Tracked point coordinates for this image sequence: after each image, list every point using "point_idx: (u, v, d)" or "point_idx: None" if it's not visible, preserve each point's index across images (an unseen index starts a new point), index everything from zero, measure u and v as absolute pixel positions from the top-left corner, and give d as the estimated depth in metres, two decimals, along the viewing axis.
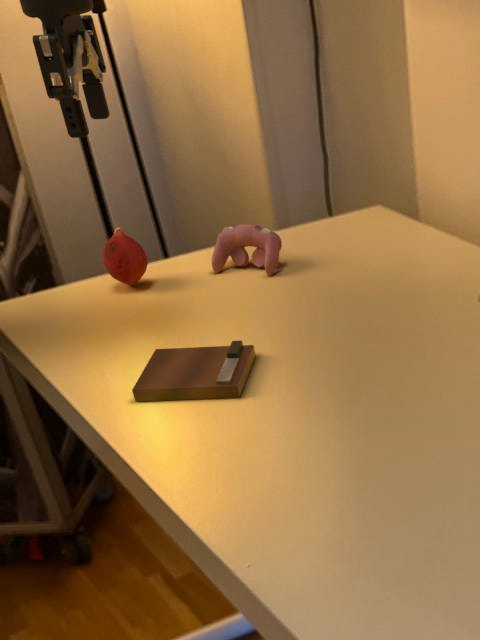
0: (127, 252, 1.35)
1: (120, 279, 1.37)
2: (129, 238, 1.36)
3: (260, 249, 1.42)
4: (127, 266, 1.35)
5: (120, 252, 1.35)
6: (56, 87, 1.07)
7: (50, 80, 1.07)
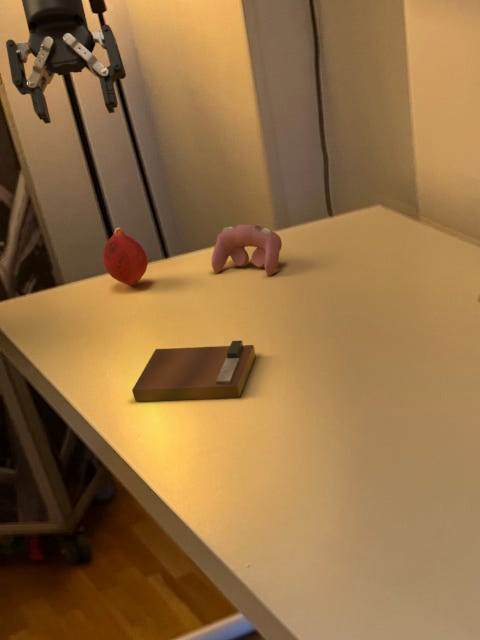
0: (127, 252, 1.35)
1: (120, 279, 1.37)
2: (129, 238, 1.36)
3: (260, 249, 1.42)
4: (127, 266, 1.35)
5: (120, 252, 1.35)
6: None
7: None
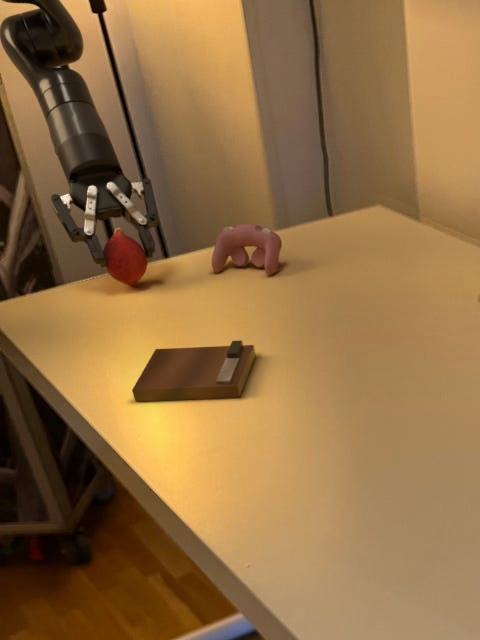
0: (127, 252, 1.35)
1: (120, 279, 1.37)
2: (129, 238, 1.36)
3: (260, 249, 1.42)
4: (127, 266, 1.35)
5: (120, 252, 1.35)
6: None
7: None
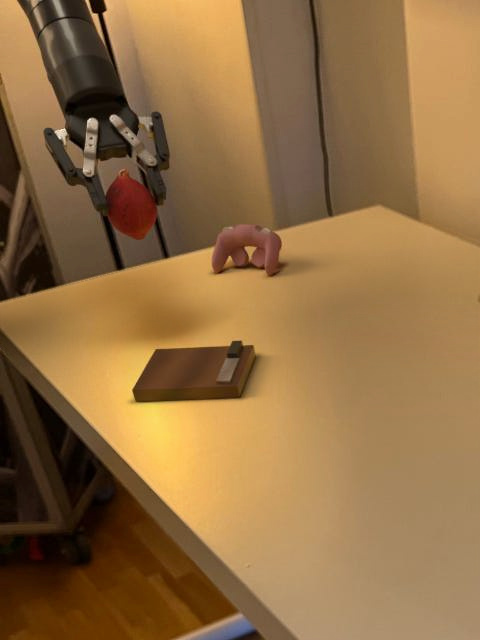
0: (134, 198, 1.14)
1: (125, 231, 1.16)
2: (136, 182, 1.15)
3: (260, 249, 1.42)
4: (134, 214, 1.15)
5: (126, 197, 1.14)
6: None
7: None
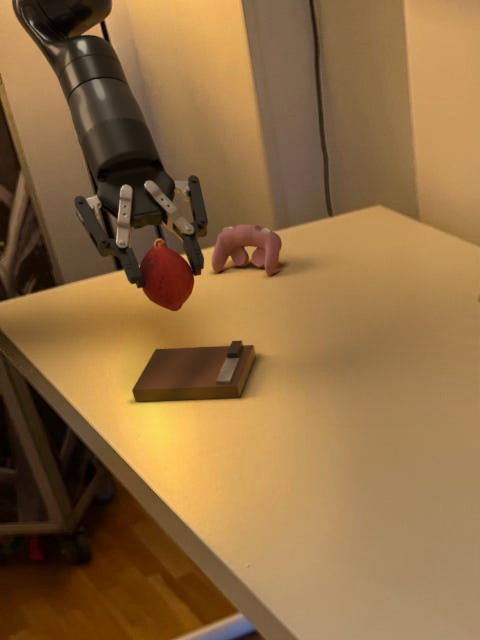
0: (170, 269, 1.07)
1: (160, 303, 1.09)
2: (172, 251, 1.07)
3: (260, 249, 1.42)
4: (170, 286, 1.07)
5: (161, 269, 1.07)
6: None
7: None
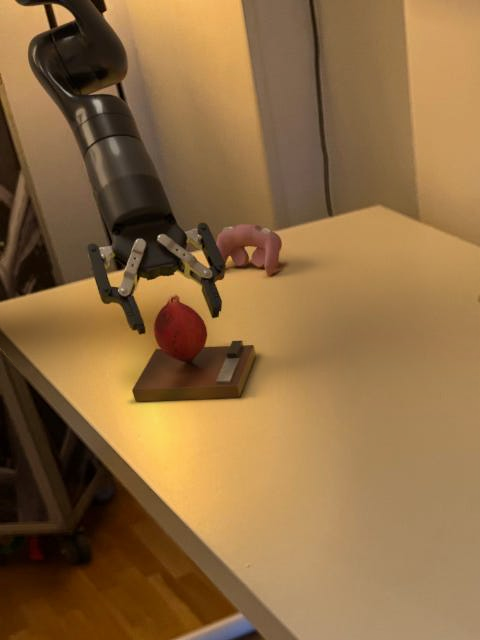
0: (184, 324, 1.11)
1: (174, 356, 1.13)
2: (186, 307, 1.12)
3: (260, 249, 1.42)
4: (184, 341, 1.11)
5: (176, 324, 1.11)
6: None
7: None
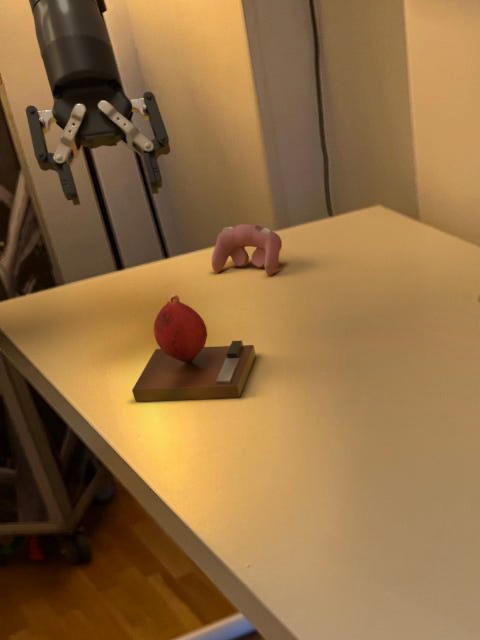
0: (184, 324, 1.11)
1: (174, 356, 1.13)
2: (186, 307, 1.12)
3: (260, 249, 1.42)
4: (184, 341, 1.11)
5: (176, 324, 1.11)
6: None
7: None
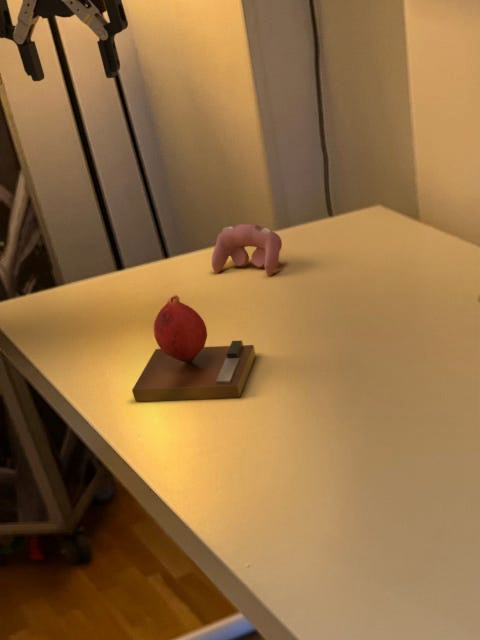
0: (184, 324, 1.11)
1: (174, 356, 1.13)
2: (186, 307, 1.12)
3: (260, 249, 1.42)
4: (184, 341, 1.11)
5: (176, 324, 1.11)
6: (120, 19, 1.10)
7: None
